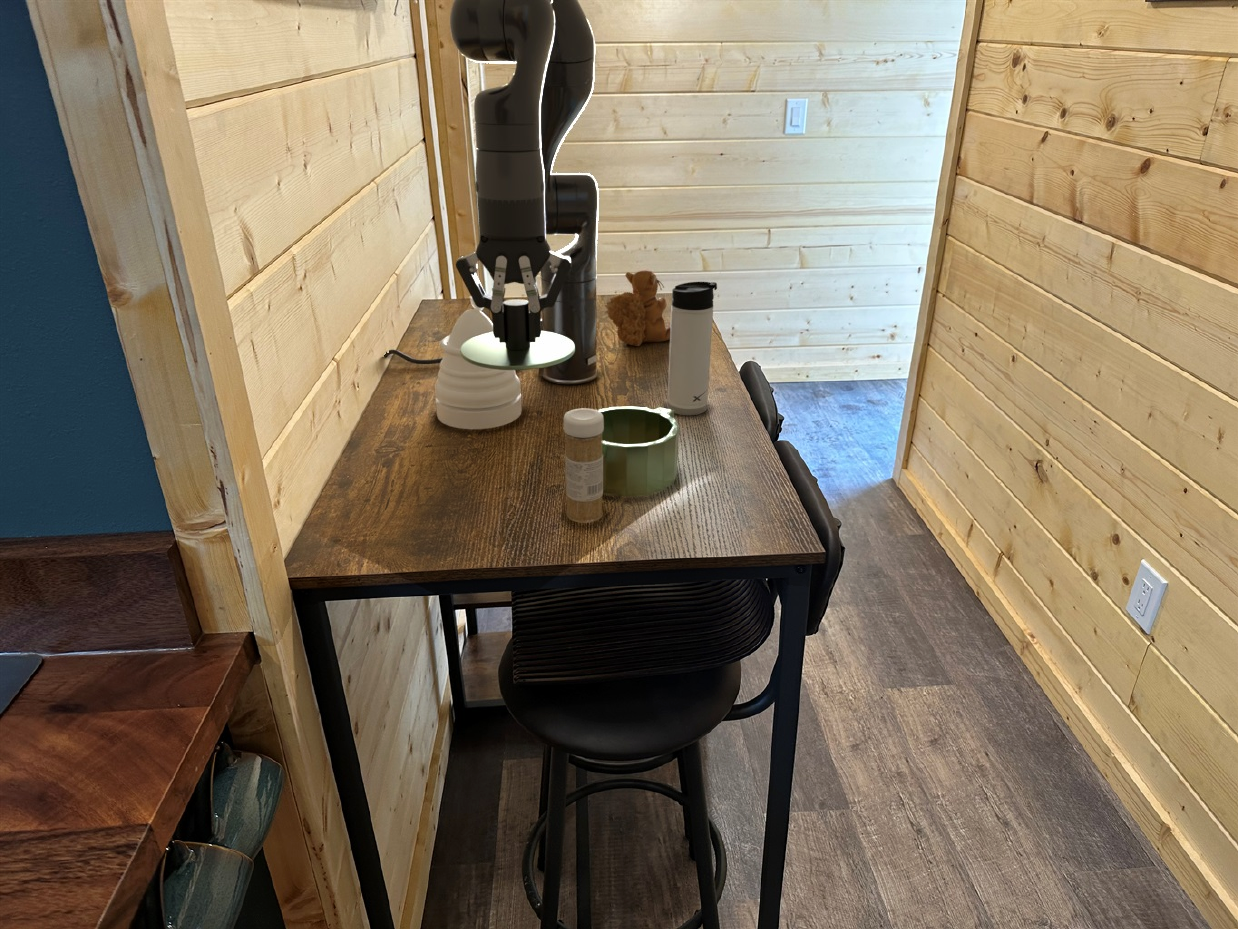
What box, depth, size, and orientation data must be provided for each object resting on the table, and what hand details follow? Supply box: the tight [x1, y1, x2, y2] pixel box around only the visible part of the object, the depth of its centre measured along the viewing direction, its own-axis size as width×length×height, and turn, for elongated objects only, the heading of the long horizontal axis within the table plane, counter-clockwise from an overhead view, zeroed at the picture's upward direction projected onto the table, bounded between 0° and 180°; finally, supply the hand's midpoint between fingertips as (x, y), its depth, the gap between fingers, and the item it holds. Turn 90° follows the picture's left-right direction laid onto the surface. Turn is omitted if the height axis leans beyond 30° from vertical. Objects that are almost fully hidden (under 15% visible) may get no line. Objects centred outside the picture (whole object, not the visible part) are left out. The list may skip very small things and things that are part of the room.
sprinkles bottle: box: [563, 407, 604, 524], centre depth 96 cm, size 5×5×13 cm
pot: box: [596, 405, 680, 498], centre depth 108 cm, size 13×18×7 cm
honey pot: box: [434, 295, 523, 430], centre depth 123 cm, size 13×13×18 cm
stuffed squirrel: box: [604, 269, 671, 347], centre depth 159 cm, size 10×14×13 cm
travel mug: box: [666, 281, 718, 416], centre depth 126 cm, size 6×7×20 cm
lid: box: [460, 298, 575, 371], centre depth 99 cm, size 14×14×7 cm
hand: (517, 339), depth 100 cm, fingers closed on lid, 3 cm apart
